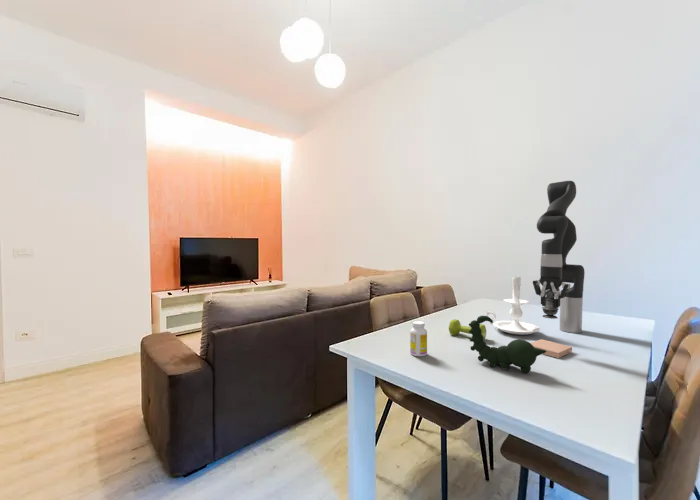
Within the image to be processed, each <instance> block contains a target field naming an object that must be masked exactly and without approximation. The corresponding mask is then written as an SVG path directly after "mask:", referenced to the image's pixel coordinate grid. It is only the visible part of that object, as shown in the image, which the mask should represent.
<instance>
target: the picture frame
mask: <svg viewBox="0 0 700 500" xmlns="http://www.w3.org/2000/svg"><path fill="white" fill-rule="evenodd" d="M530 343H531V344H532V345H533V346H534V347H535V348H538V349H542V350H546V353H543V354H542V355H545V356H549V357H553V358H557V359H559V358H562V357H564V356H566V355H568V354H571V353H572V352H573V347H572V346H569V345H565V344H562V343H558V342H554V341H549V340H546V339H542V338H541V339H539V340H538V339H537V340H534V341H533V342H530Z"/></svg>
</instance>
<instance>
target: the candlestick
mask: <svg viewBox="0 0 700 500" xmlns="http://www.w3.org/2000/svg"><path fill="white" fill-rule="evenodd" d="M521 280H522V277H521V276H519V277H518V276H516V275H515V276H514V277H511V281H512V283H511V285H512V286H511V287H512V294H511V295H512V296H511V297H512V298H505V299H503V302H506V303H509V304H510V305H511V308H510V310H509V315H510V317H511V318H512V319H513V320H498V321H497V320H496V318H497V316H496V314H495V312H493V311H489V310H485V312H486V316H488V317H489V314H492V315H493V318H491V319H492V320H493V323H491V322H489V324H490V325H492V326H494V327H495V328H497V329H498V330H500V331H502V332H504V333H507V334H511V335H518V336H519V335H520V336H521V335H523V336H524V335H525V336H526V335H531V334H534V333H536V332H539V331H540V330H541V328H540V327H539V326H537V325H535V324H532V323H528V322H523V321H519V320H520V319H521V318H522V317H523V314H524V313H523V310H522V308H521V305H526V304H529V303H530V301H528V300H526V299H521V298H520V297H521V296H520V295H521V285H522V284H521V282H522V281H521ZM495 320H496V321H495Z"/></svg>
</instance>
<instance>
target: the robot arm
mask: <svg viewBox="0 0 700 500" xmlns="http://www.w3.org/2000/svg"><path fill="white" fill-rule="evenodd" d="M546 190H547V191H546V192H547V193H546V194H547V199H548V204H549V206H547V209H546V212H544V213H543V214H542V215H541V216H540V217H539V218H538V219H537V222H536V229H537V231H538V232H539V233H541V234H543V235H544V234H545V235H546V234H548V235H550V234H553V237H552V238H549V239H544V240H542V241H541V255H540V269H539V270H540V271H539V273H540V278H539V279H538V280H537V279H536V280H532V285H533V289H534V291H535V294H536V295H537V296H539V297H540V304H541V306H542V307H545V305H546V292H547V291H548V290H552V291H553V293H554V295H555V298H554V299H555V302H554V308H558V309H559V330H560V331H563V332H567V333H573V334H579V333H582V332H583V299H584V298H583V297H584V282H585V273H586V272H585V268H584V266H583V265H580V264H572V263H571V264H570V263H569V264H568V263H567V262H566V261H567V256H568V255H569V253H570V251H571V250H572V249H573V247H574V245H575V244H576V242H577V229H576V225H575V224H574V222H573V221H572V220H571V219H570V218H569V217H568V216H567V212H568V208H569V207H570V206H571V204H572V203H573V201H574V200H575V198H576V195H577V185H576V183H575V182H574V181H573V180H563V181H557V182H551V183H549V184H548V185H547V188H546ZM571 284H573V285H572V286H571ZM540 285H541V286H542V287H541V286H540ZM561 286H562V289H560V287H561Z"/></svg>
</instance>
